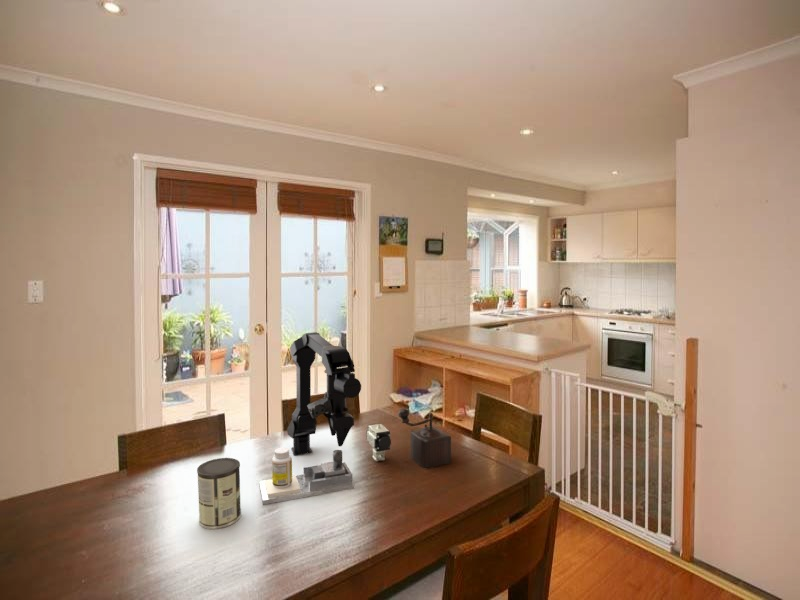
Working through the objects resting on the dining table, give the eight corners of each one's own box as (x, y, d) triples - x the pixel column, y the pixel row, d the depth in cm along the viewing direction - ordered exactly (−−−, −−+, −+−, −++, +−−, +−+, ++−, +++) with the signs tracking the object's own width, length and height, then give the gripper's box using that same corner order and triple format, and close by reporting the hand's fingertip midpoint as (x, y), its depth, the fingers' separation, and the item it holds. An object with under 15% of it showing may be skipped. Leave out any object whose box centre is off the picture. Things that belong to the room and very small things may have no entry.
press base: (259, 485, 137) (259, 473, 137) (344, 471, 147) (343, 460, 146) (262, 504, 126) (262, 491, 126) (354, 488, 136) (354, 476, 135)
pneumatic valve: (379, 451, 163) (379, 418, 162) (391, 464, 152) (391, 429, 151) (364, 454, 160) (364, 420, 160) (375, 467, 150) (375, 431, 149)
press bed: (265, 482, 136) (265, 480, 136) (295, 477, 140) (295, 475, 140) (268, 496, 128) (267, 494, 128) (300, 491, 131) (300, 488, 131)
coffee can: (217, 505, 126) (216, 455, 125) (249, 511, 123) (248, 460, 121) (189, 524, 116) (187, 471, 115) (222, 532, 113) (221, 477, 112)
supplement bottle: (284, 477, 138) (284, 444, 137) (295, 483, 134) (295, 449, 133) (268, 484, 133) (267, 450, 133) (279, 490, 130) (279, 455, 129)
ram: (311, 476, 140) (310, 451, 140) (339, 471, 143) (339, 446, 143) (315, 485, 134) (315, 459, 133) (345, 480, 137) (345, 455, 137)
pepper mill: (434, 451, 163) (435, 401, 162) (451, 463, 153) (452, 410, 152) (395, 459, 156) (395, 407, 155) (410, 472, 146) (411, 417, 145)
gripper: (304, 384, 144) (304, 433, 145) (315, 401, 126) (315, 456, 127) (339, 381, 147) (339, 429, 149) (354, 397, 130) (354, 450, 131)
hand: (336, 440), depth 139 cm, fingers open, 9 cm apart
